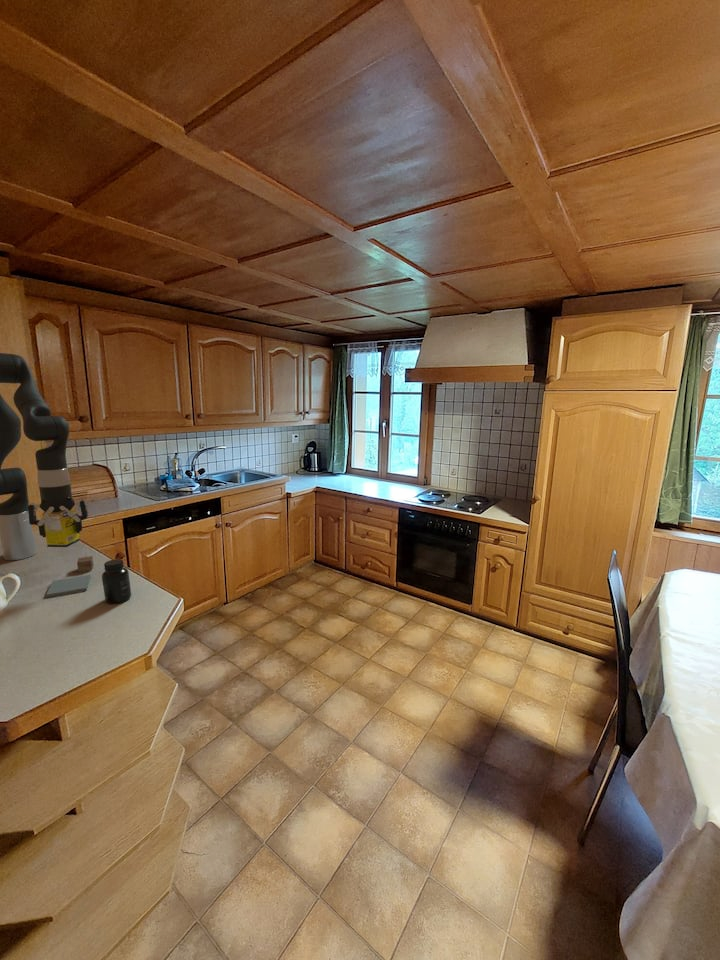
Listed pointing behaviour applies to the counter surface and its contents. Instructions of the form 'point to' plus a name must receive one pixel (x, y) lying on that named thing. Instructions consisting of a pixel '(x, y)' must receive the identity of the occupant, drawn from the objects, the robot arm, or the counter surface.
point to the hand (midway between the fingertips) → (62, 534)
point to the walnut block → (85, 564)
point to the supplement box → (60, 529)
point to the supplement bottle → (116, 582)
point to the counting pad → (68, 586)
